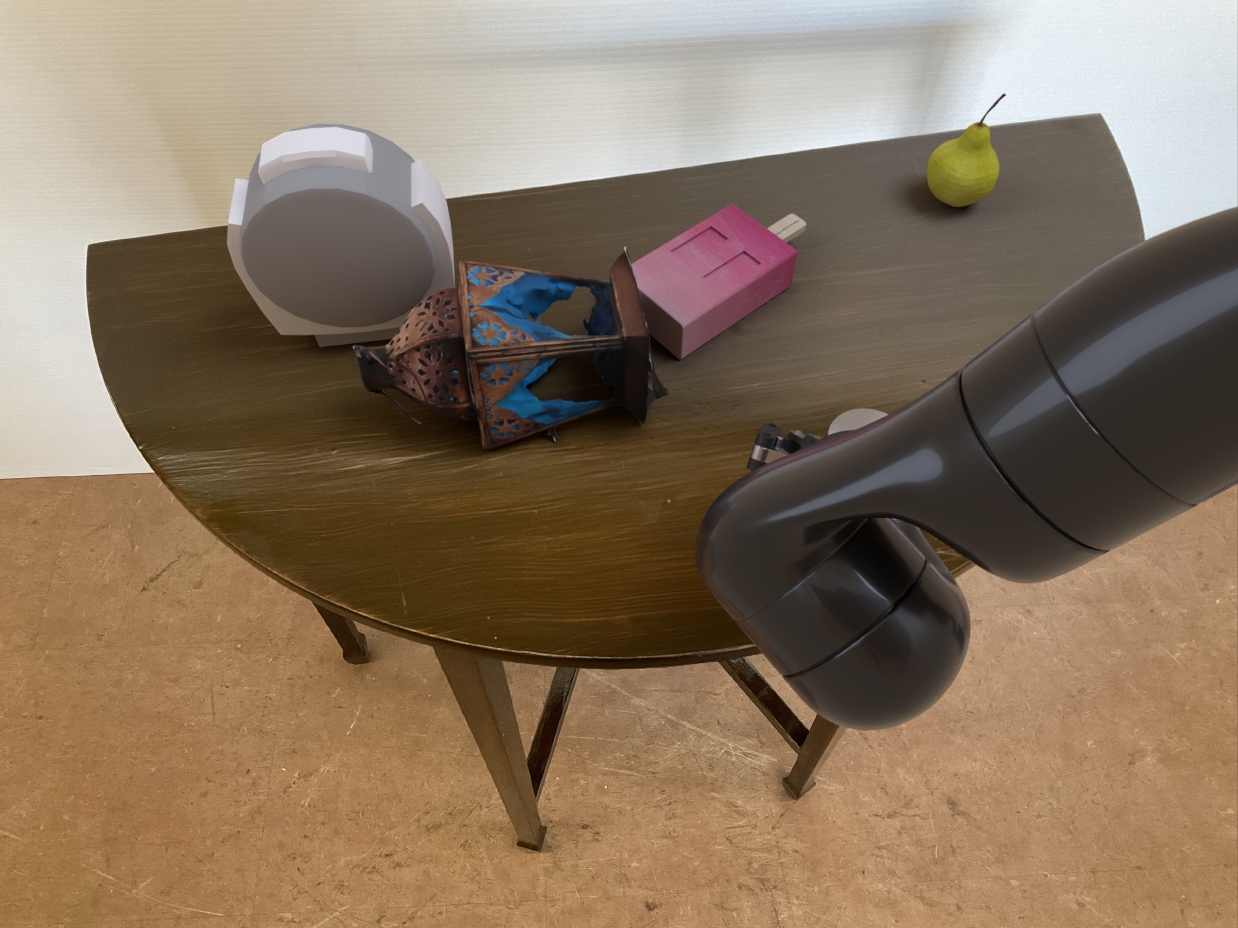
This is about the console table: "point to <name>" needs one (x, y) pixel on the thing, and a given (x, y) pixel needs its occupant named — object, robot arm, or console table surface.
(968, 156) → the fruit
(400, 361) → the lantern
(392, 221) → the alarm clock
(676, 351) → the popsicle
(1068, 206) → the console table surface
